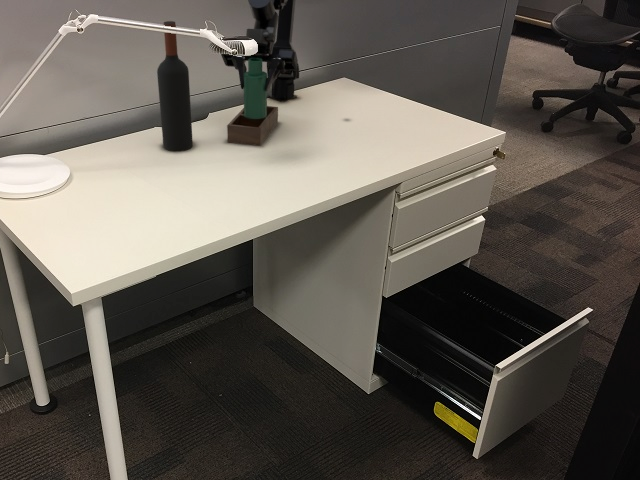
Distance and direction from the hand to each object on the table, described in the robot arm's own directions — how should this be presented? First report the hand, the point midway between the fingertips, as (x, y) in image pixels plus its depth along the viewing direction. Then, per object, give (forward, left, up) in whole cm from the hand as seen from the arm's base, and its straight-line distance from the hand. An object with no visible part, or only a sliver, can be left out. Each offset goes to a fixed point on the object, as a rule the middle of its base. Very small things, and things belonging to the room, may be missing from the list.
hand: (253, 89), depth 167 cm
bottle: (-1, +1, -7) cm, 7 cm away
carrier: (-4, +4, -13) cm, 14 cm away
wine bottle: (-10, -17, -13) cm, 24 cm away
